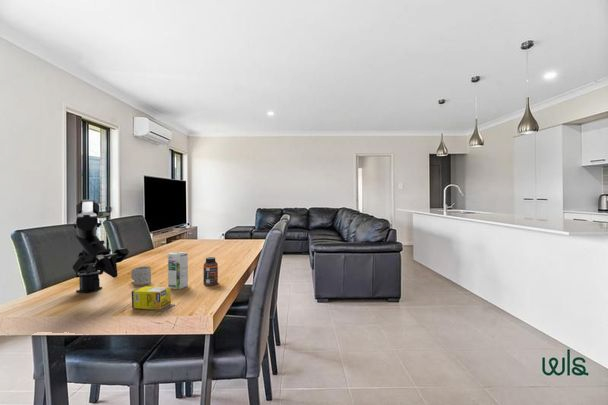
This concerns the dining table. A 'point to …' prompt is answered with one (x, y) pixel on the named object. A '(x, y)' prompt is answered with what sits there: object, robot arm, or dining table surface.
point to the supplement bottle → (210, 271)
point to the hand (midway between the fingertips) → (115, 276)
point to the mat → (163, 308)
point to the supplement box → (151, 297)
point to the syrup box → (177, 270)
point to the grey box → (141, 275)
